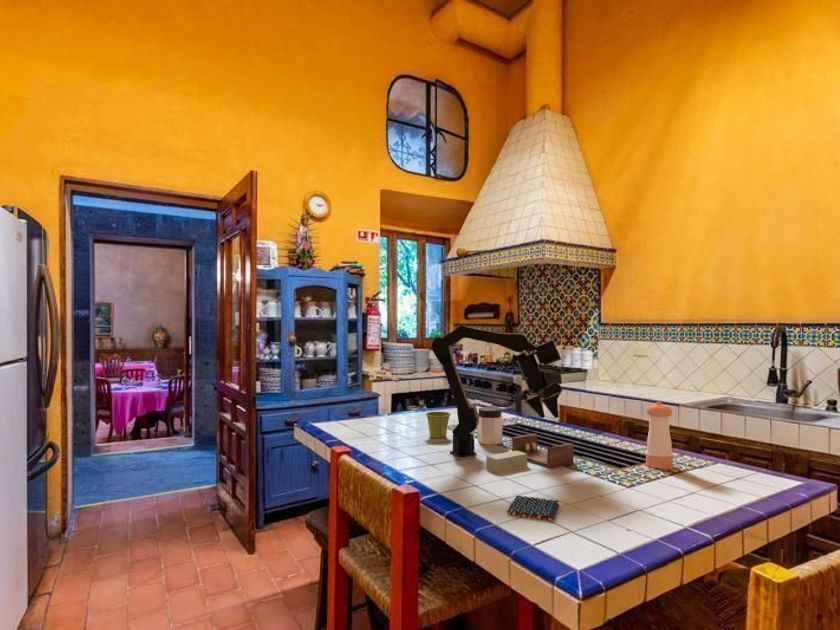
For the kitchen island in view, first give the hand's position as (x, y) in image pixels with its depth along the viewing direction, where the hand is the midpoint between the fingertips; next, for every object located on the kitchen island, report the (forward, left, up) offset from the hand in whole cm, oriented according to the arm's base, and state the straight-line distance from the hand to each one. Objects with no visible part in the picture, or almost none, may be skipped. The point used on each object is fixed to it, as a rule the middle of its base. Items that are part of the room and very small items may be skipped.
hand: (550, 417), depth 158 cm
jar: (-1, +28, -13) cm, 31 cm away
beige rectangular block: (-17, +1, -13) cm, 22 cm away
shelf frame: (-2, +1, -13) cm, 13 cm away
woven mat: (-35, -28, -14) cm, 47 cm away
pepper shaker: (+23, -22, -13) cm, 34 cm away
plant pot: (-12, +45, -13) cm, 48 cm away
